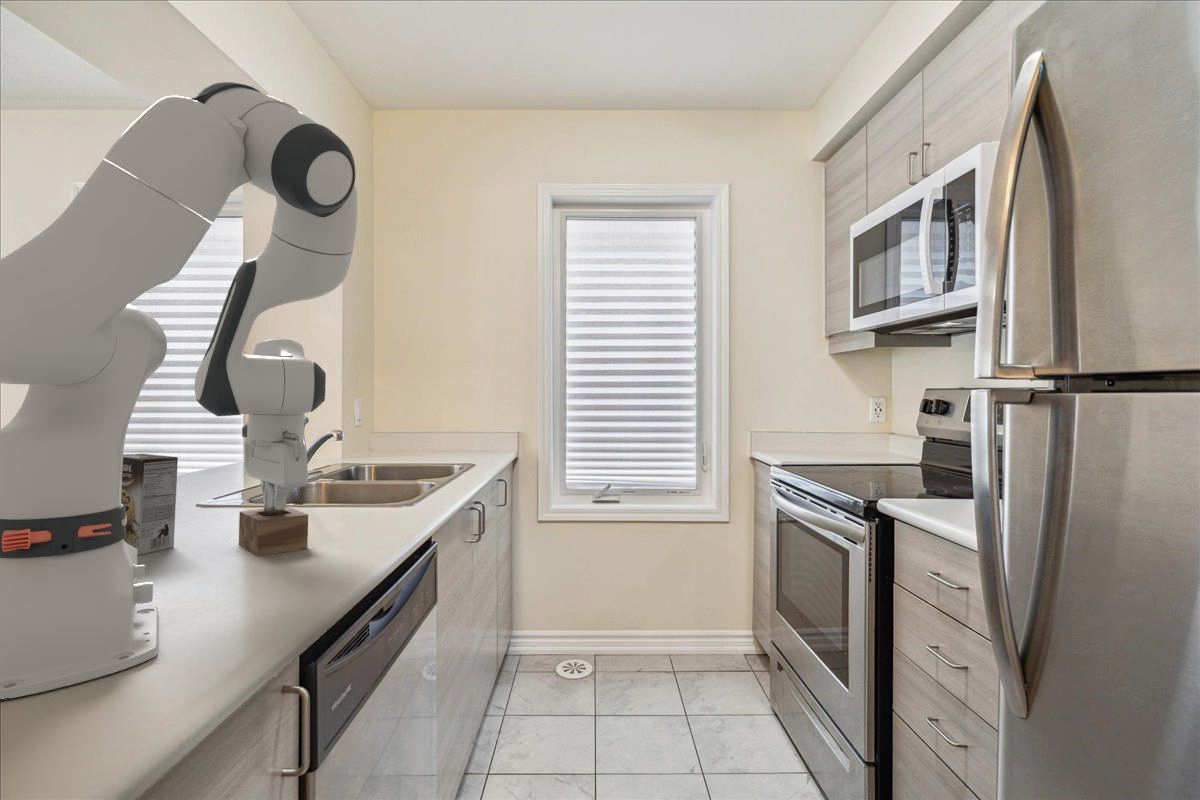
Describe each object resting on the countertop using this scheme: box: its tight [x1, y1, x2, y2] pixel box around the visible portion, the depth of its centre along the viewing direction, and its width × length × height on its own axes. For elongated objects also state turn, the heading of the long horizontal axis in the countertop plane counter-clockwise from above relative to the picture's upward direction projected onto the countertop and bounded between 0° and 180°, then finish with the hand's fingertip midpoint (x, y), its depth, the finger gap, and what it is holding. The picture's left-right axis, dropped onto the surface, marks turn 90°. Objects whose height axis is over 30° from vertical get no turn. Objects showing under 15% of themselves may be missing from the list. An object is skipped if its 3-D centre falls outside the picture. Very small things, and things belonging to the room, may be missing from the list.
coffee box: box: [121, 453, 179, 556], centre depth 100 cm, size 9×6×16 cm
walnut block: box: [238, 505, 309, 557], centre depth 104 cm, size 10×8×6 cm
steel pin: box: [263, 481, 284, 517], centre depth 104 cm, size 3×3×10 cm
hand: (274, 507), depth 104 cm, fingers closed on steel pin, 3 cm apart
